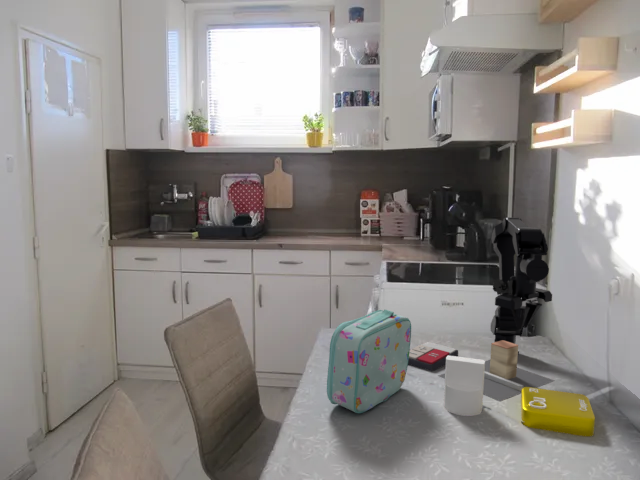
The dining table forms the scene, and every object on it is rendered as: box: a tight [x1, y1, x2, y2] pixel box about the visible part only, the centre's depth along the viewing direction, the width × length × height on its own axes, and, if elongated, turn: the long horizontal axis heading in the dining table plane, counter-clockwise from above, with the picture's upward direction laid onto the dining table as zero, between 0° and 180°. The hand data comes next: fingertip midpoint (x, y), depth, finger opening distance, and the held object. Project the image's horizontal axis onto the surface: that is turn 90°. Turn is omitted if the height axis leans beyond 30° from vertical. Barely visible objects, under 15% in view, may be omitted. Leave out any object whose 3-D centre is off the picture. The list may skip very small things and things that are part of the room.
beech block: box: [489, 340, 519, 380], centre depth 153 cm, size 5×5×9 cm
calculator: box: [408, 341, 459, 372], centre depth 165 cm, size 11×4×15 cm
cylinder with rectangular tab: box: [443, 355, 486, 417], centre depth 134 cm, size 9×9×12 cm
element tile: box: [520, 387, 596, 438], centre depth 130 cm, size 15×15×5 cm
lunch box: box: [326, 309, 412, 414], centre depth 138 cm, size 27×10×21 cm, turn 144°
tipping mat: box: [437, 359, 556, 402], centre depth 152 cm, size 24×20×2 cm
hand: (521, 328), depth 156 cm, fingers open, 2 cm apart
